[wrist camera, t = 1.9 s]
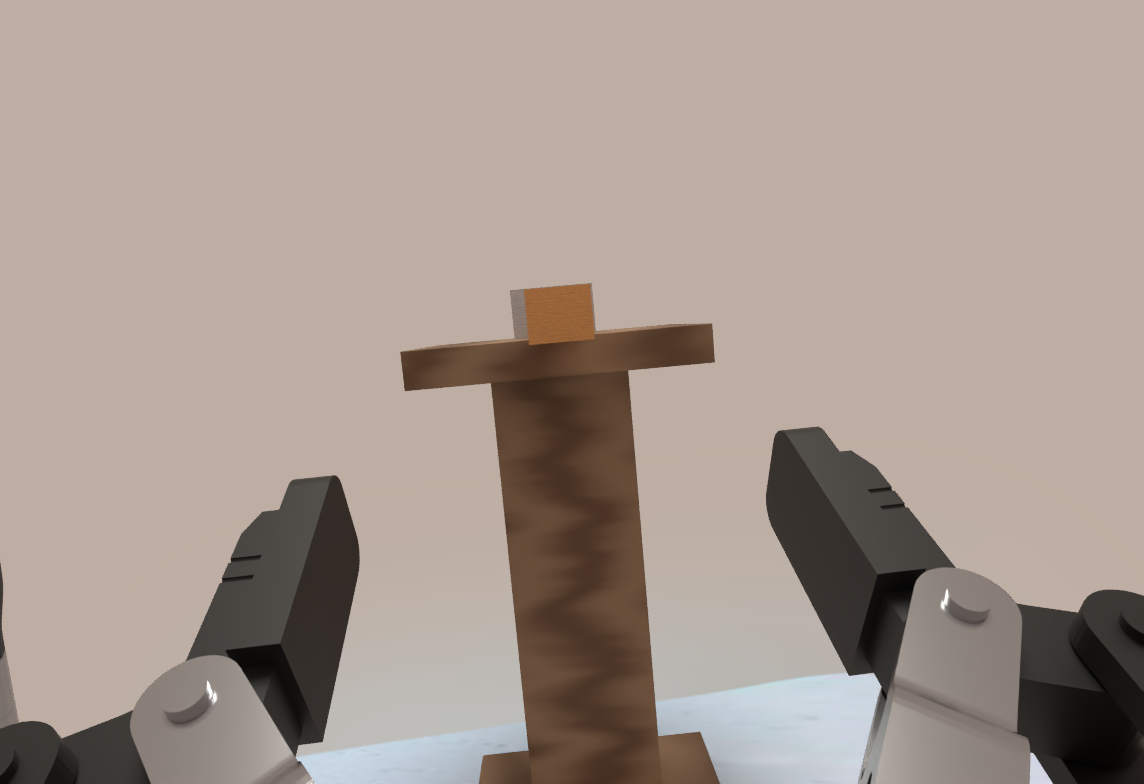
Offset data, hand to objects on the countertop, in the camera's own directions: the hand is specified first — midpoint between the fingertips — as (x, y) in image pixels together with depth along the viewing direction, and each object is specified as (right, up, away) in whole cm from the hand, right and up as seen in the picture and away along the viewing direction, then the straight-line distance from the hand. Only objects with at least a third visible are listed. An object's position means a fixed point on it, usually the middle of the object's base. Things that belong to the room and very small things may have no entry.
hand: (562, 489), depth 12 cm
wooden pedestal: (+2, -27, +31) cm, 41 cm away
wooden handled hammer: (-1, +5, +23) cm, 23 cm away
